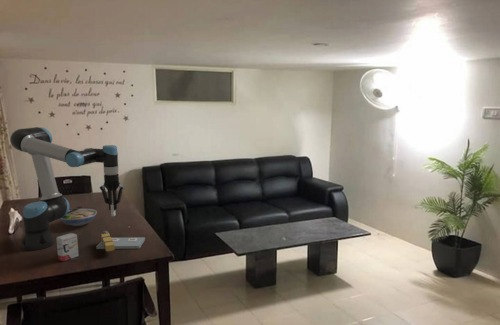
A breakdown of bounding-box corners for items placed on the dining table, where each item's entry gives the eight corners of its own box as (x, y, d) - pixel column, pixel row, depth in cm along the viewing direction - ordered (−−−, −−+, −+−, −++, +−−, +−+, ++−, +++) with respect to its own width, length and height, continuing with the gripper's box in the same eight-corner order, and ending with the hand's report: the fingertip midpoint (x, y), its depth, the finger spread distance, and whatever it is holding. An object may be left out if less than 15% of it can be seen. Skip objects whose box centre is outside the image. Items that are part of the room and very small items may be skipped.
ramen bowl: (82, 232, 233) (81, 219, 232) (49, 229, 238) (48, 217, 237) (105, 220, 257) (105, 208, 256) (75, 217, 262) (74, 206, 261)
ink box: (63, 262, 191) (61, 239, 189) (57, 259, 194) (55, 237, 192) (79, 256, 198) (77, 234, 196) (73, 254, 201) (71, 232, 199)
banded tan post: (100, 239, 216) (100, 231, 215) (108, 237, 218) (108, 230, 217) (106, 252, 197) (105, 244, 196) (114, 251, 199) (114, 243, 198)
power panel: (96, 249, 208) (96, 245, 207) (104, 240, 220) (104, 237, 220) (139, 248, 208) (139, 245, 208) (145, 239, 221) (144, 236, 221)
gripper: (125, 172, 213) (127, 213, 217) (101, 172, 213) (104, 213, 217) (121, 175, 206) (123, 217, 209) (96, 175, 205) (99, 217, 209)
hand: (113, 215), depth 213 cm, fingers closed
